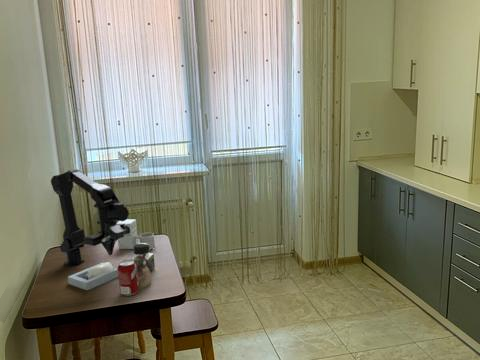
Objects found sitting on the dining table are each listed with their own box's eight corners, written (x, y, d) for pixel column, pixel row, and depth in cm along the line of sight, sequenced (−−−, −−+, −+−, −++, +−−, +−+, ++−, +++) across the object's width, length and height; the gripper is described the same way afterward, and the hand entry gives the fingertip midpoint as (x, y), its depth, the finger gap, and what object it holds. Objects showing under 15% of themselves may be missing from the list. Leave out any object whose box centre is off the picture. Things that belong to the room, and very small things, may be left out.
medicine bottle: (148, 276, 192) (145, 247, 190) (132, 275, 194) (129, 247, 191) (155, 269, 199) (152, 241, 197) (139, 268, 201) (136, 241, 198)
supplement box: (118, 249, 226) (115, 223, 223) (124, 243, 233) (121, 218, 230) (132, 249, 224) (130, 223, 222) (138, 244, 231) (136, 218, 229)
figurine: (131, 282, 187) (128, 253, 185) (149, 278, 190) (146, 249, 188) (135, 289, 181) (131, 259, 178) (153, 285, 184) (150, 255, 181)
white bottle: (106, 272, 199) (82, 283, 190) (104, 261, 199) (79, 271, 190) (114, 273, 196) (89, 284, 187) (111, 262, 196) (87, 272, 187)
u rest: (68, 283, 189) (67, 276, 189) (104, 268, 203) (103, 262, 202) (87, 290, 182) (86, 283, 182) (122, 274, 195) (121, 267, 195)
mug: (157, 246, 227) (155, 232, 226) (152, 251, 221) (150, 237, 219) (137, 245, 229) (136, 232, 228) (131, 250, 223) (130, 237, 221)
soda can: (129, 298, 174) (126, 267, 171) (116, 294, 177) (112, 264, 175) (142, 290, 179) (139, 260, 177) (129, 287, 183) (126, 257, 180)
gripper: (99, 227, 182) (104, 266, 185) (137, 214, 196) (141, 251, 200) (81, 223, 188) (86, 261, 192) (119, 211, 203) (123, 246, 206)
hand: (110, 254), depth 197 cm, fingers closed
